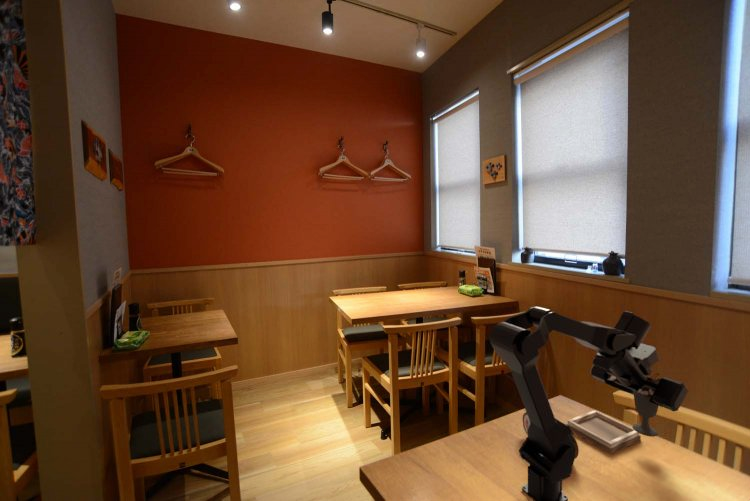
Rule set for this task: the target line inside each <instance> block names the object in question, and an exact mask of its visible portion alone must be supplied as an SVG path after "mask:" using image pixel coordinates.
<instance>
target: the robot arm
mask: <svg viewBox="0 0 750 501" xmlns="http://www.w3.org/2000/svg"><path fill="white" fill-rule="evenodd" d="M533 327H537V328H536V329H534V330H533V331H531V330H529V329H531V328H533ZM651 327H652V326H651V324H650V323H649V322H648V321H646V320H645V319H644V318H642V317H640V316H637V315H635V312H631V311H628V310H623V312H622V313H621V315H620V318H618V320H617V323H616V324H615V325H614V327H611V326H607V325H603V324H600V323H595V322H593V321H592V322H591V321H584V320H582V321H581V320H580V321H579V320H577V319H574V318H571V317H568V316H566V315H563V314H560V313H557V312H555V311H554V310H553V309H549V308H546V307H542V306H537V305H536V306H532V307H530V308H528V309H527V310H526V311H524V312H521V313H518V314H515V315H511V316H509V317H506V318H505V319H504V320H502V321H501V322H498V323H497V324H495V325H494V327H493V328H492V330H491V332H490V334H489V342H490V345H491V346H492V349H493V350H494V351H495V353H496V355H497V356H498V357H499V358H500V359H501V360H502V361H503V363H505V365H506V366H507V367H508V368H509V370H510V374H511V375H512V378H513V381H514V383H515V385H516V388H517V389H516V390H517V391H518V394H519V397H520V399H521V402H522V404H523V407H524V409H525V412H527V415H528V417H529V420H530V425H529V427H528V429H527V432H528V435H527V437H526V439H525V440H524V441H523V444H522V445H521V446H520V448H519V449H518V452H519V456H520V458H521V459H522V460H524V461H525V462H527V463H528V464H529V466H527V484H525V485H522V486H521V490H522V491H523V493H525V494H526V495H527V496H528V497H530V498H531V499H532V500H533V501H569V496H568V495H566V494H565V493H563V492H562V491H563V481H564V480H565V479H566V480H567V479H568V478H570V477H571V474H572V470H573V466H574V462H575V460H576V459H575V446H574V443H576V442H577V440H576V441H575V440H574V439H573V436H574V435H573V436H572V434H573V432H572V431H571V429H570V427H569V426H568V425H566V424H567V423H564V422H562V421H561V420H559V419H557V418H556V417H555V415H554V412H553V409H552V407H551V404H550V401H549V399H548V395H547V393H546V390H545V387H544V384H543V382H542V379H541V377H540V374H539V371H538V369H537V361H538V358H539V357H540V351H539V350H540V349H542V348H543V346H545V345H546V344H547V342H548V338H549V335H550V333H551V332H557V333H559V334H562V335H565V336H568V337H572V338H573V339H575V342H577V343H579V344H580V345H582V346H583V347H586V348H589V349H592V350H595V351H596V354H595V356H594V357H593V359H592V366H591V369H590V376H592V377H593V379H594V380H597V381H600V382H602V383H604V384H606V385H608V386H610V387H613V388H614V389H618V390H620V391H623V392H626V393H628V394H630V395H633V396H634V394H633V391H632V390H634V391H636V392H638V390H642V389H643V387H646V388H648V389H651V392H652V393H653V395H652V396H651V398H650V400H649V402H651V403H653V404H656V405H658V407H660V408H664V409H667V410H669V411H672V412H678V410H679V409H680V407H681V406H682V403H683V402H684V401H685V398H686V397H687V395H688V392H689V389H688V388H687V385H685V383H684V382H682V381H679V380H675V379H673V378H671V377H667V376H664V377H662V378H657V379H656V378H653V377H651V374H652V373H653V370H652V369H651V367H653V365H655V364H656V363H658V362H659V361H660V359H659V355H658V352H657V348H656V347H655V346H653V345H650V344H649V345H648V344H645V343H642V342H643V341H644V339H645V337H646V336H647V334H648V332H649V331H650V329H651ZM649 377H651V378H649Z"/></svg>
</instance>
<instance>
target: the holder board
mask: <svg viewBox="0 0 750 501" xmlns="http://www.w3.org/2000/svg"><path fill="white" fill-rule="evenodd" d="M599 412H600V413H599ZM601 413H602V414H601ZM604 414H605V413H603V412H601V411H599V410H597V409H594V410H591V411H589V412H586V413H583V414H580V415H578V416H575V417H573V418H570V419H568V420H567V423H565V424H566V425H568V426H569V427H570V429H571V432H572V434H573V433H574V434H575V435H577V436H579V437H581V438H582V439H584V440H586V441H588V442H589V443H591V444H593V445H594V446H596V447H598V448H600V449H602V450H603V451H605V452H606V453H608V454H610V455H612V454H614V453H616V452H618V451H620V450H623V449H624V448H627V447H629V446H631V445H633V444H636V443H638V442H640V441H641V437H642V436H641V434H640V433H638V432H636V431H635V430H634V429H633V426H630V425H628V424H625V423H623V422H621V421H620V420H617V419H616V418H613V417H611V416H609V415H607V414H605V415H604Z"/></svg>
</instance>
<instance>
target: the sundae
mask: <svg viewBox="0 0 750 501" xmlns="http://www.w3.org/2000/svg"><path fill="white" fill-rule="evenodd" d="M658 376H661V375H660V373H658V372H656V373H655V374H653V375H652V376H648V377H649V378H653V377H654V379H656V378H657V377H658ZM632 391H633V394H634V395H633V394H632V395H633V400H634V406H635V410H636V412H637V413H638V414H639V415H640V416H641V417H642V418H641V419H642V420H641V423H635V424H633V425H632V428H633V429H634V430H635V431H636V432H638V433H639V435H643V436H647V437H652V438H653V437H658V435H659V433H658V431H657V429H655V428H653V427H652V426H650V423H649V420H650V419H651V418H654V417H655V416H656V415H657V413H658V410H659V406H658V405H656V404H653V403H651V402H649V400H650V398H651V396H652V395H653V393H652V392H651V389H648V388H646V387H643V389H642V390H638V392H636V391H634V390H632Z"/></svg>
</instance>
